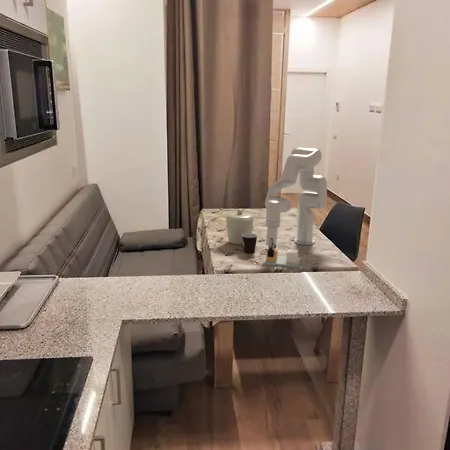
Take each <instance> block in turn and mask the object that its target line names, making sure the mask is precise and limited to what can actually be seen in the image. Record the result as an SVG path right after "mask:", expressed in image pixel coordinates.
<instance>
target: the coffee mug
mask: <svg viewBox="0 0 450 450" xmlns="http://www.w3.org/2000/svg"><path fill="white" fill-rule="evenodd" d="M242 239H243V245H242V248H243V253H244V254H246V255H252V254H255V253H256V247H257V239H258V234H256V233H246V234H243V235H242Z"/></svg>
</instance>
